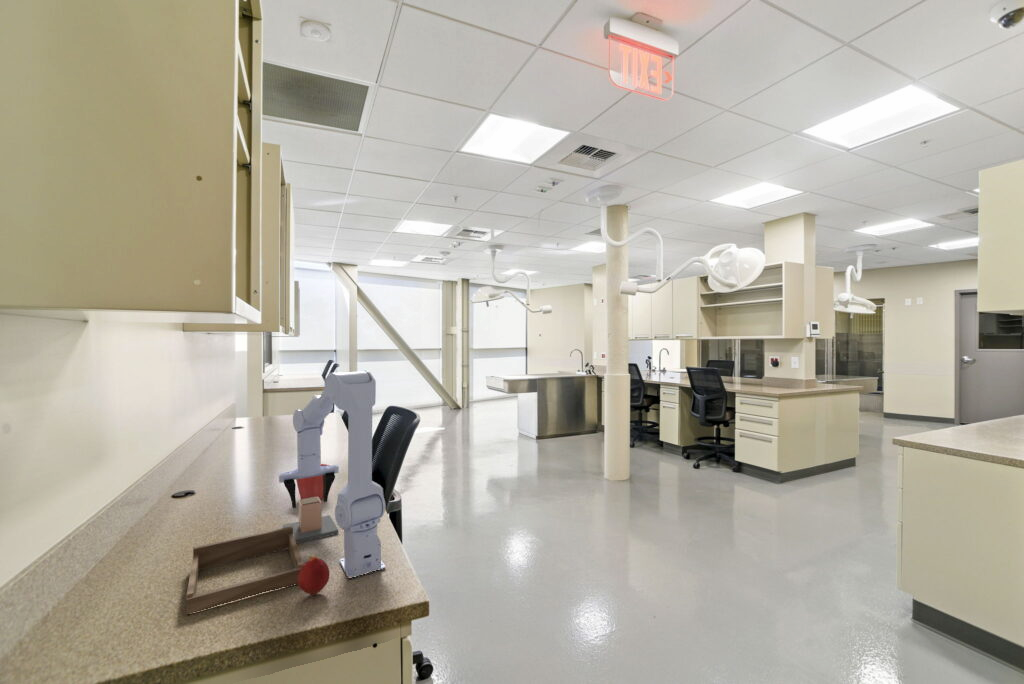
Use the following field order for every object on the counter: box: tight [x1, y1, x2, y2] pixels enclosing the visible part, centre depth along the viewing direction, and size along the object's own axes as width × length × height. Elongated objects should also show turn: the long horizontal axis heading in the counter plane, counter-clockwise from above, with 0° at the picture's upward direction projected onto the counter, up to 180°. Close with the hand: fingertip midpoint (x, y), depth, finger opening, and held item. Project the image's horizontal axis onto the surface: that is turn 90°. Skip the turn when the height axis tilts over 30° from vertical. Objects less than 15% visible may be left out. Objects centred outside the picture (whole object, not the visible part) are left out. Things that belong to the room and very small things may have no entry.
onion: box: [297, 554, 330, 596], centre depth 88 cm, size 6×6×8 cm
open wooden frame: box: [185, 526, 304, 616], centre depth 95 cm, size 20×20×5 cm
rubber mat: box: [282, 514, 339, 544], centre depth 117 cm, size 12×12×1 cm
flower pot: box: [295, 463, 330, 500], centre depth 143 cm, size 11×11×10 cm
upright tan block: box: [297, 497, 323, 533], centre depth 117 cm, size 5×5×7 cm
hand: (309, 504), depth 117 cm, fingers open, 7 cm apart
